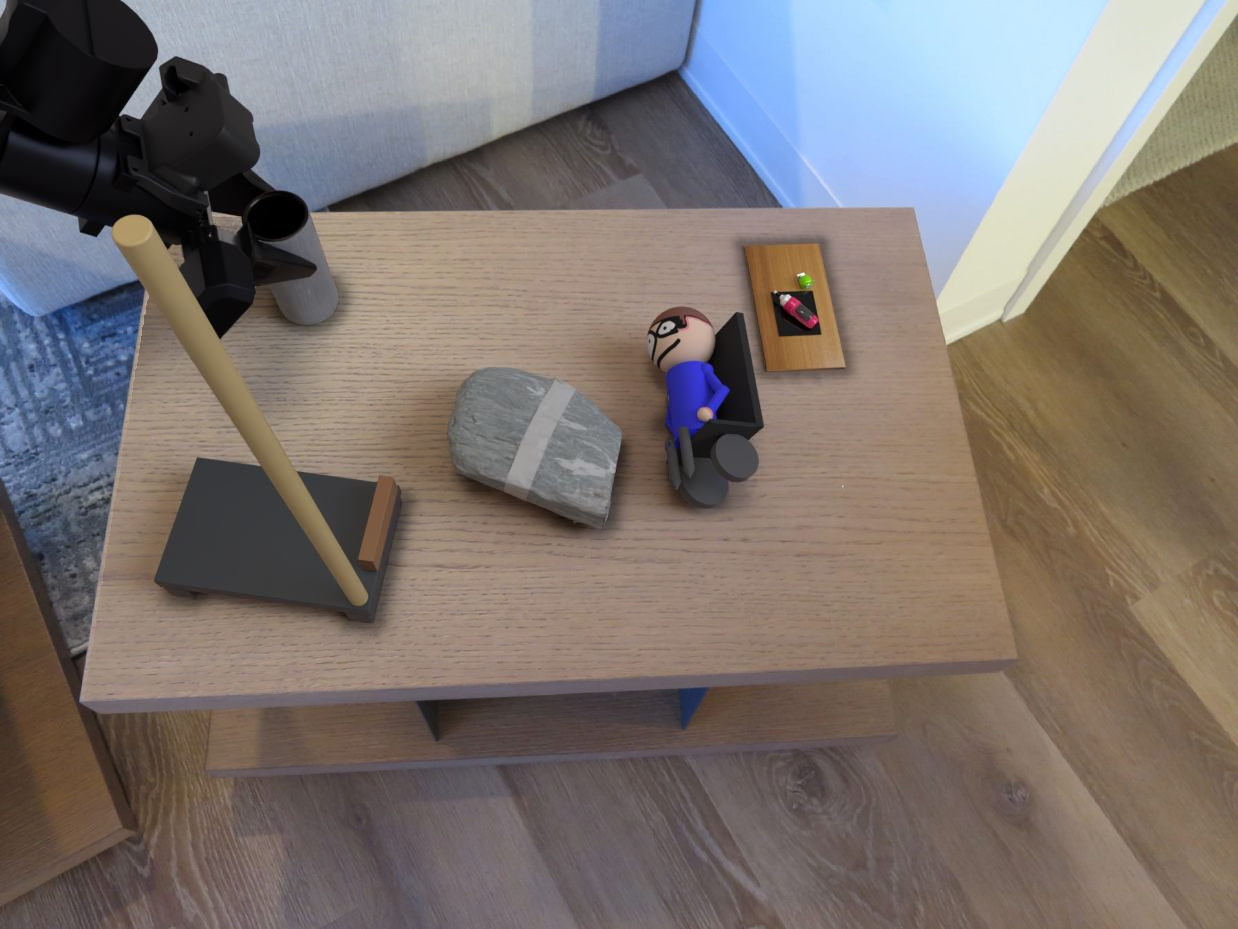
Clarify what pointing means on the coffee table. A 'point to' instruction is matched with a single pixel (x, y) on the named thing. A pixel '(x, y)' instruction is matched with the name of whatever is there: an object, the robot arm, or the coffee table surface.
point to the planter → (293, 230)
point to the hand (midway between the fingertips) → (307, 245)
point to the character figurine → (707, 402)
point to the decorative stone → (535, 442)
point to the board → (794, 308)
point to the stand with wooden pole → (260, 485)
